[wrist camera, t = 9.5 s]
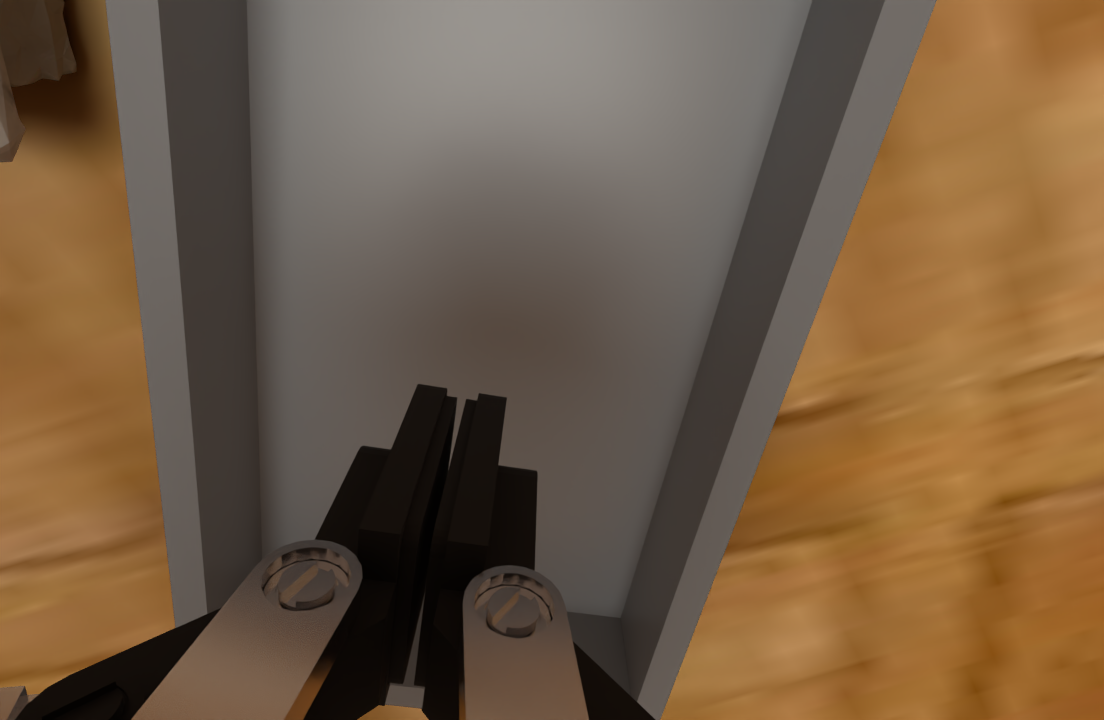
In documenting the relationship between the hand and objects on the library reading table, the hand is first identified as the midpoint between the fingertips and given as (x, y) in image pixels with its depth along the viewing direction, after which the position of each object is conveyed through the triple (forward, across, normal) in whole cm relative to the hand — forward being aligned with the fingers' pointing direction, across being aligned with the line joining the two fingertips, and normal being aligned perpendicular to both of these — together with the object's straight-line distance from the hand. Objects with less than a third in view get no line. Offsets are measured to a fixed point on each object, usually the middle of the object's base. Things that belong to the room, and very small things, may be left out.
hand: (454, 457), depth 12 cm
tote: (+9, 0, 0) cm, 9 cm away
